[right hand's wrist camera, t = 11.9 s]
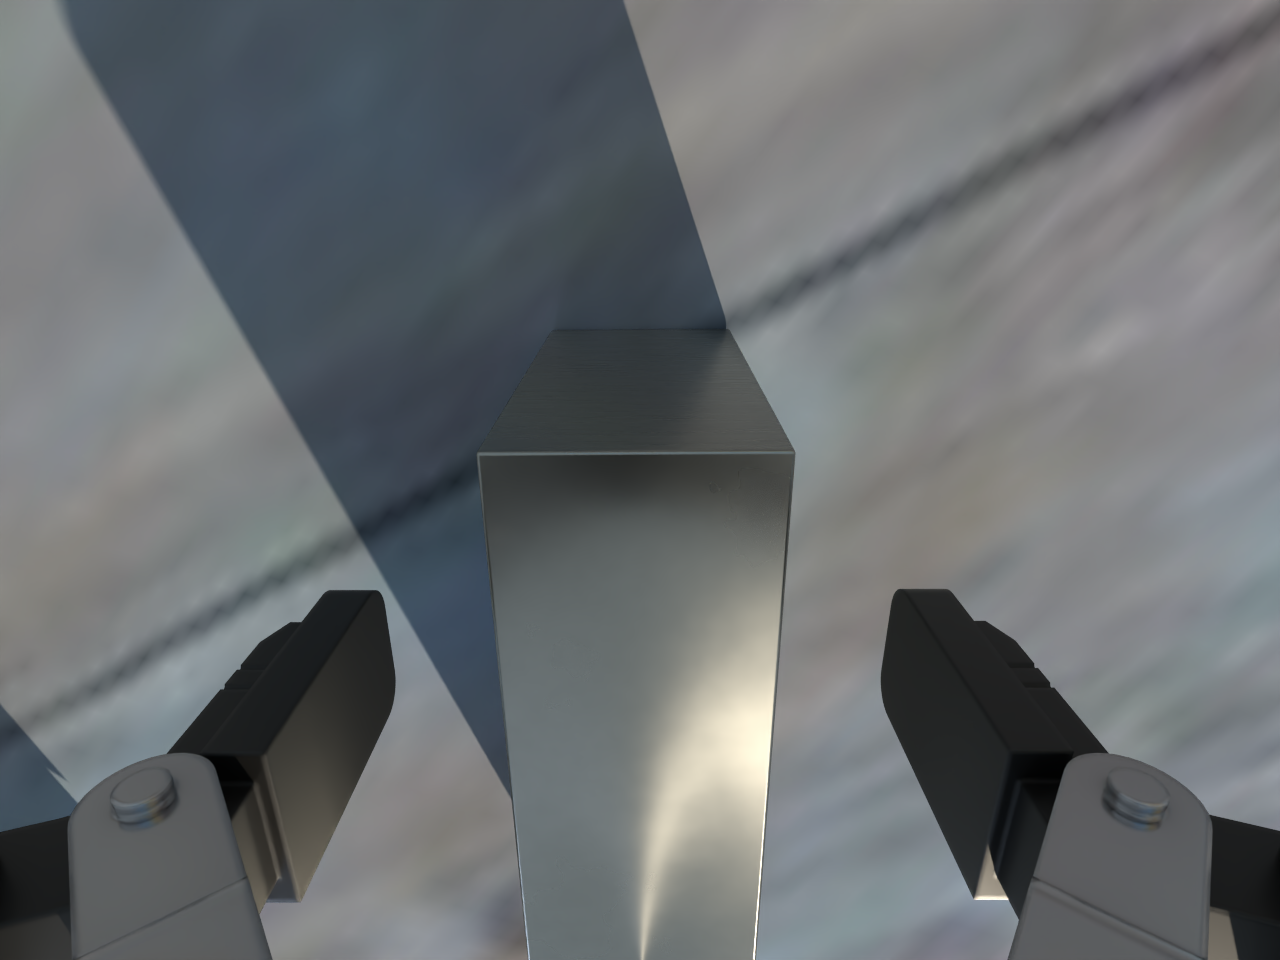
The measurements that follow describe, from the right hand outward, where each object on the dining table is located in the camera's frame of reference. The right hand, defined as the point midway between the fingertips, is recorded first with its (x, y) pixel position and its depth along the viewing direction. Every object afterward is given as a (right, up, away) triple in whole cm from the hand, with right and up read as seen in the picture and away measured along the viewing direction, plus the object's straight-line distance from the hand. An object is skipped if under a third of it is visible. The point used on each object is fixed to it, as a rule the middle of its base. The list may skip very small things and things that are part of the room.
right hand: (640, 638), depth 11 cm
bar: (0, -4, +12) cm, 13 cm away
